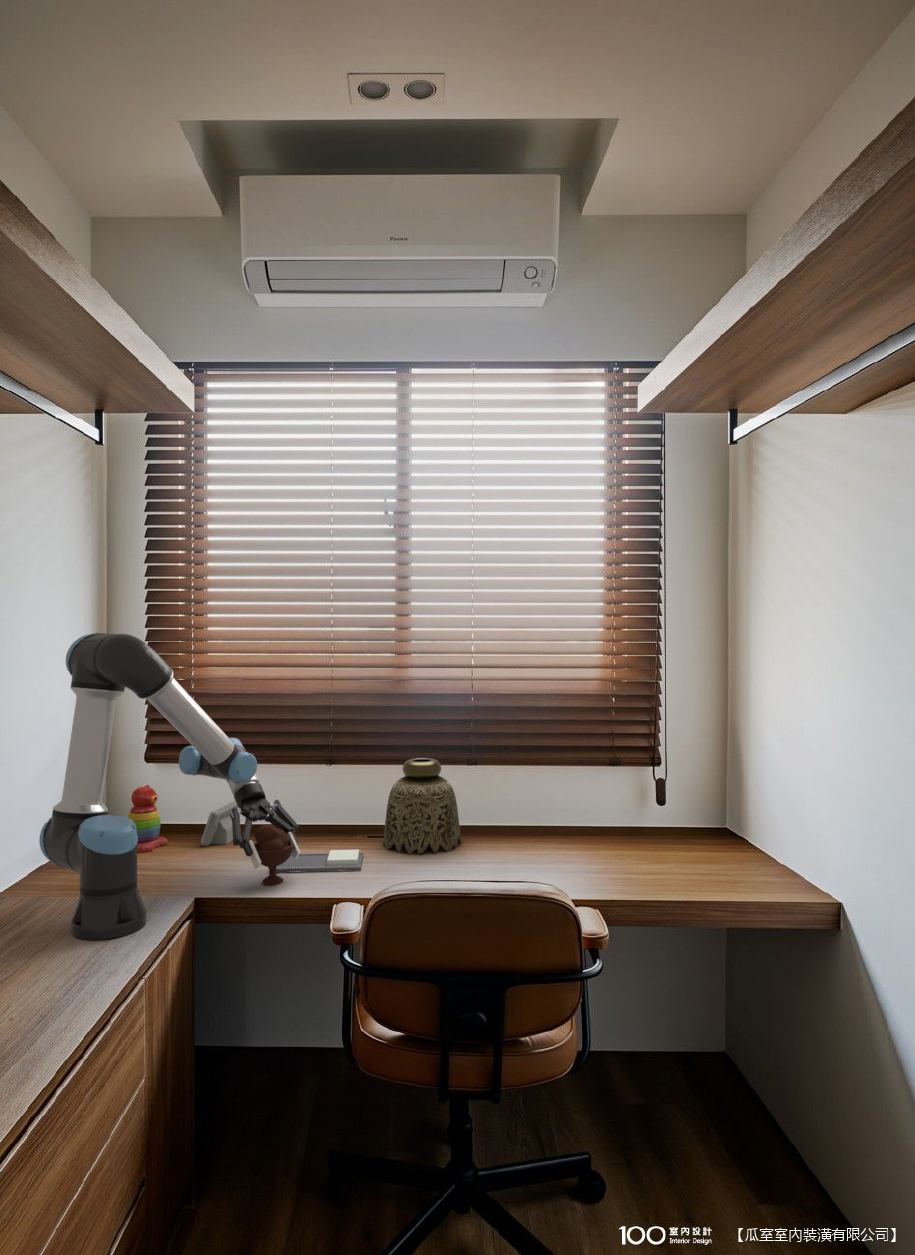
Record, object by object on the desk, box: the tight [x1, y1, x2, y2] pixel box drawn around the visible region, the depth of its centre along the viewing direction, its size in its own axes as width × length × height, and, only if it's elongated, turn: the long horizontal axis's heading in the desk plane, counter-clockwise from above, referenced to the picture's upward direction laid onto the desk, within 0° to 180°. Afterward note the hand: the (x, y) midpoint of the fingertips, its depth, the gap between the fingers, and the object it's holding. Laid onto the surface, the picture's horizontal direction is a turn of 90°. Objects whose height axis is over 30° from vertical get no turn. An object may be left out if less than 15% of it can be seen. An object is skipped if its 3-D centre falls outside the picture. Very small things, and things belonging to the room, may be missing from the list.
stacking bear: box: [127, 784, 169, 853], centre depth 238 cm, size 11×10×18 cm
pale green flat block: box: [327, 849, 360, 866], centre depth 221 cm, size 8×10×2 cm
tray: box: [276, 851, 364, 873], centre depth 220 cm, size 24×13×1 cm, turn 94°
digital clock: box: [200, 800, 239, 847], centre depth 244 cm, size 16×9×11 cm, turn 159°
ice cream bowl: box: [253, 823, 294, 887], centre depth 205 cm, size 11×11×15 cm
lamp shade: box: [382, 757, 462, 855], centre depth 240 cm, size 23×23×25 cm
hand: (278, 860), depth 203 cm, fingers closed on ice cream bowl, 11 cm apart
